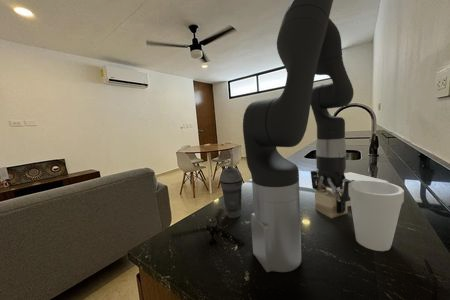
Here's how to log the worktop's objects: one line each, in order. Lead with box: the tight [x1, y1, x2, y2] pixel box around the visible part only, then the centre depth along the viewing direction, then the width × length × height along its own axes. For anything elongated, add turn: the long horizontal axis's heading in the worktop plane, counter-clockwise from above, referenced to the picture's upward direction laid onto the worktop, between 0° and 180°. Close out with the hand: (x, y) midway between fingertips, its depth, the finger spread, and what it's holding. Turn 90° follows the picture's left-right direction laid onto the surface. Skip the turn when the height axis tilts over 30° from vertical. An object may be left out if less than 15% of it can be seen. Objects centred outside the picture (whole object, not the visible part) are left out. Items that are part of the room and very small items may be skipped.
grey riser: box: [314, 171, 390, 208], centre depth 69 cm, size 18×14×5 cm
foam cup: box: [348, 180, 405, 252], centre depth 42 cm, size 10×9×13 cm
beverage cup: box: [219, 153, 244, 219], centre depth 60 cm, size 7×7×20 cm
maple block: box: [314, 188, 348, 219], centre depth 58 cm, size 6×6×6 cm
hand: (330, 207), depth 58 cm, fingers closed on maple block, 6 cm apart
